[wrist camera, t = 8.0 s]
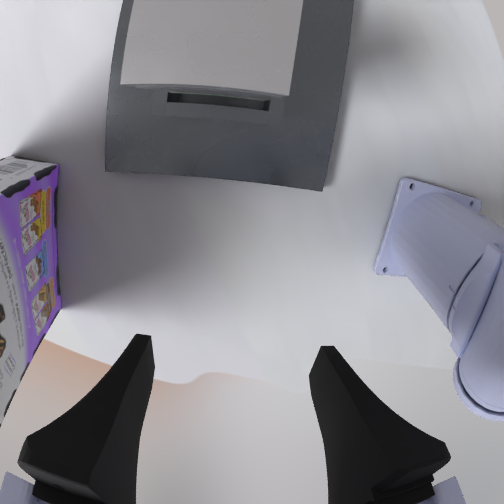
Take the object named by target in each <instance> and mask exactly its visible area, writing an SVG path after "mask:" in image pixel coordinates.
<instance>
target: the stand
mask: <svg viewBox="0 0 504 504" xmlns="http://www.w3.org/2000/svg"><path fill="white" fill-rule="evenodd" d="M133 3H134V0H123V3H122V8H121V12H120V17H119V22H118V28H117V33H116V39H115V45H114V51H113V58H112V66H111V74H110V83H109V93H108V105H107V120H106V143H105V172H133V173H152V174H169V175H183V176H195V177H207V178H218V179H228V180H238V181H247V182H255V183H264V184H272V185H280V186H287V187H294V188H301V189H308V190H315V191H321V192H322V191H323V186H324V182H325V177H326V172H327V167H328V162H329V157H330V152H331V147H332V142H333V137H334V131H335V126H336V120H337V115H338V109H339V103H340V97H341V91H342V85H343V79H344V72H345V65H346V59H347V52H348V44H349V37H350V29H351V21H352V12H353V3H354V0H303V6H302V12H301V19H300V26H299V33H298V39H297V46H296V53H295V59H294V66H293V72H292V79H291V85H290V91H289V96H284V97H282V99H277V100H275V99H273V100H266V101H260V100H252V99H244V98H236V97H226V96H215V95H201V94H184V93H170V92H163V91H154V90H147V89H145V88H136V86H130V85H121V84H120V82H121V73H122V65H123V58H124V51H125V44H126V38H127V33H128V27H129V22H130V17H131V12H132V7H133Z"/></svg>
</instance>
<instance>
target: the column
mask: <svg viewBox="0 0 504 504" xmlns="http://www.w3.org/2000/svg"><path fill="white" fill-rule="evenodd" d="M302 6H303V0H134V3H133V7H132V12H131V17H130V22H129V27H128V33H127V38H126V44H125V51H124V58H123V65H122V73H121V82H120V84H121V85H130V86H136V88H145V89H147V90H154V91H163V92H170V93H184V94H201V95H215V96H226V97H236V98H244V99H252V100H260V101H266V100H273V99H275V100H277V99H282V97H284V96H289V91H290V85H291V79H292V72H293V66H294V59H295V53H296V46H297V39H298V33H299V26H300V19H301V12H302Z"/></svg>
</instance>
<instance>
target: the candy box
mask: <svg viewBox="0 0 504 504" xmlns="http://www.w3.org/2000/svg"><path fill="white" fill-rule="evenodd" d="M58 171H59V164H53V163H48V162H43V161H36V160H31V159H26V158H22V157H14V156H8V157H6V158H3V159H1V160H0V426H1V424H2V422H3V419H4V417H5V415H6V413H7V410H8V408H9V406H10V403H11V401H12V399H13V396H14V394H15V392H16V390H17V388H18V386H19V384H20V382H21V380H22V377H23V376H24V374H25V371H26V370H27V368H28V366H29V364H30V362H31V360H32V358H33V356H34V354H35V352H36V351H37V349H38V347H39V345H40V343H41V342H42V340H43V338H44V336H45V335H46V333H47V331H48V330H49V328H50V326H51V324H52V323H53V321H54V319H55V318H56V316H57V314H58V313H59V311H60V310H61V295H60V288H59V273H58V262H57V236H56V225H57V222H56V219H57V216H56V206H57V188H58Z"/></svg>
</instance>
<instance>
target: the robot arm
mask: <svg viewBox="0 0 504 504" xmlns="http://www.w3.org/2000/svg"><path fill="white" fill-rule="evenodd" d="M410 184H413V186H412V188H410ZM470 202H471V203H470ZM481 205H482V204H481V201H480V200H478V199H476V198H473V197H470V196H467V195H464V194H461V193H458V192H454V191H451V190H448V189H445V188H442V187H438V186H435V185H431V184H428V183H424V182H421V181H417V180H413V179H410V178H402V179H401V180H400V183H399V187H398V190H397V194H396V198H395V201H394V205H393V208H392V212H391V215H390V218H389V222H388V225H387V228H386V231H385V234H384V237H383V241H382V244H381V247H380V250H379V253H378V256H377V258H376V261H375V264H374V267H373V270H374V272H375V273H376V274H378V275H391V276H405V277H408V279H409V280H410V281H411V282H412V284H413V285H414V286H415V287H416V289H417V290H418V291H419V292H420V294H421V295H422V296H423V297H424V299H425V300H426V301H427V302H428V304H429V305H430V306H431V308H432V309H433V310H434V312H435V313H436V314H437V316H438V317H439V318H440V320H441V321H442V322H443V324H444V325H445V326H446V328H447V329H448V330H449V332H450V333H451V335H452V341H451V344H450V346H451V348H452V349H453V351H454V352H455V354H456V355H457V357H458V359H457V361H456V363H455V366H454V371H453V381H454V386H455V389H456V391H457V394H458V396H459V397H460V399H461V401H462V402H463V403H464V404H465V406H466V407H467V408H468V409H470V410H471V411H472V412H473V413H475V414H476V415H479V416H480V417H482V418H485V419H489V420H496V421H504V229H503V228H502V227H500V226H499V225H497V224H496V223H494V222H493V221H491V220H490V219H488V218H487V217H485V216H484V215H482V214H481V213H479V212H480V209H481ZM385 267H386V269H385V270H383V269H384V268H385ZM154 370H155V364H154V357H153V349H152V340H151V336H150V335H142V334H136V335H135V336H134V337H133V339H132V340H131V342H130V343H129V345H128V346H127V348H126V349H125V350H124V352H123V353H122V354H121V356H120V357H119V358H118V360H117V361H116V362H115V363H114V365H113V366H112V367H111V369H110V370H109V371H108V372H107V373H106V374H105V376H104V377H103V378H102V379H101V380H100V381H99V382H98V384H97V385H96V386H95V387H94V388H93V389H92V390H91V391H90V392H89V393H88V394H87V395H86V396H85V397H83V398H82V399H81V400H80V401H79V402H78V403H77V404H76V405H74V406H73V407H72V408H71V409H69V410H68V411H67V412H66V413H64V414H63V415H62V416H60V417H59V418H57V419H56V420H54V421H53V422H52V423H50V424H49V425H47V426H45V427H43V428H42V429H40V430H38V431H36V432H34V433H33V434H31V435H29V436H27V438H26V440H25V442H24V444H23V446H22V450H21V452H20V456H19V459H18V464H19V466H20V467H21V468H22V469H23V470H24V471H25V472H26V473H28V474H29V475H30V476H31V477H33V478H34V479H35V480H36V481H35V485H33V484H31V483H29V482H27V481H25V480H23V479H21V478H19V477H17V476H15V475H13V474H11V473H9V472H6V473H5V476H4V480H3V483H2V487H1V490H0V504H136V475H137V462H138V451H139V441H140V435H141V430H142V426H143V421H144V417H145V413H146V409H147V405H148V402H149V398H150V394H151V390H152V383H153V377H154ZM309 381H310V389H311V396H312V400H313V404H314V407H315V411H316V414H317V418H318V422H319V426H320V430H321V434H322V438H323V443H324V449H325V457H326V466H327V477H328V504H466V503H465V500H464V497H463V494H462V492H461V489H460V486H459V484H458V481H457V479H456V477H455V476H454V477H452V478H450V479H448V480H445V481H443V482H441V483H439V484H437V485H435V486H433V487H432V484H431V482H433V481H434V478H433V475H432V474H433V473H435V472H436V471H438V470H439V469H441V468H442V467H443V466H444V465H445V464H447V463H448V462H449V461H450V459H451V456H450V453H449V451H448V449H447V447H446V444H445V443H444V442H443V441H441V440H438V439H436V438H434V437H432V436H430V435H428V434H426V433H425V432H423V431H421V430H419V429H418V428H416V427H414V426H413V425H411V424H410V423H408V422H407V421H406V420H404V419H403V418H402V417H400V416H399V415H397V414H396V413H395V412H394V411H392V410H391V409H390V408H389V407H388V406H387V405H385V404H384V403H383V402H382V401H381V400H380V399H379V398H378V397H377V396H376V395H375V394H374V393H373V392H372V391H371V390H370V389H369V388H368V387H367V385H366V384H365V383H364V382H363V381H362V380H361V379H360V378H359V376H358V375H357V374H356V373H355V372H354V370H353V369H352V368H351V367H350V366H349V364H348V363H347V362H346V361H345V359H344V358H343V357H342V355H341V354H340V353H339V352H338V350H337V349H336V348H335V347H334V346H321V347H320V350H319V352H318V355H317V357H316V360H315V362H314V364H313V367H312V369H311V372H310V374H309Z"/></svg>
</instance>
